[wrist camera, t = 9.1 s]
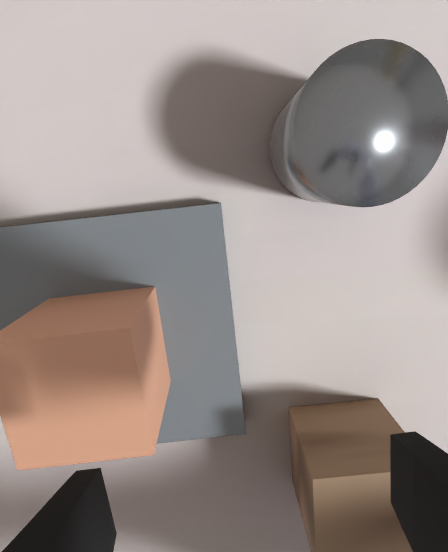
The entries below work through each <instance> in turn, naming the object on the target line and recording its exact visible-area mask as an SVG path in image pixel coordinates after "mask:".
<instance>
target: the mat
mask: <svg viewBox="0 0 448 552" xmlns="http://www.w3.org/2000/svg"><path fill="white" fill-rule="evenodd" d="M146 287H155V289H156V295H157V301H158V307H159V313H160V319H161V325H162V331H163V337H164V343H165V349H166V356H167V362H168V368H169V374H170V380H171V382H170V387H169V391H168V395H167V400H166V404H165V409H164V413H163V417H162V422H161V426H160V431H159V435H158V439H157V443H166V442H175V441H184V440H193V439H202V438H211V437H220V436H229V435H238V434H246V431H245V422H244V413H243V404H242V394H241V385H240V376H239V367H238V358H237V348H236V339H235V330H234V321H233V311H232V302H231V293H230V284H229V275H228V265H227V256H226V247H225V238H224V228H223V219H222V210H221V203H212V204H203V205H194V206H185V207H177V208H168V209H159V210H150V211H141V212H132V213H123V214H114V215H105V216H96V217H87V218H78V219H69V220H60V221H51V222H42V223H33V224H24V225H15V226H6V227H0V331H1V330H2V329H4V328H5V327H7V326H8V325H10V324H11V323H13V322H14V321H16V320H17V319H19V318H20V317H22V316H23V315H25V314H26V313H28V312H29V311H31V310H32V309H34V308H35V307H37V306H38V305H40V304H41V303H43V302H45V301H46V300H48V299H49V298H57V297H66V296H75V295H84V294H93V293H101V292H110V291H119V290H128V289H137V288H146Z"/></svg>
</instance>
